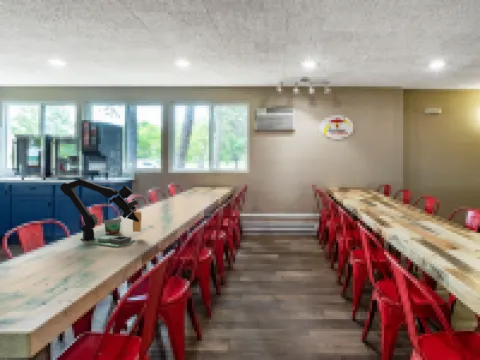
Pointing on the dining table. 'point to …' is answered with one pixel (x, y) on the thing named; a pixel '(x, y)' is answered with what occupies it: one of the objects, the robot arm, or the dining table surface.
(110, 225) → the food container
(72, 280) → the dining table surface
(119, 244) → the green domed base plate
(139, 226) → the chute block
